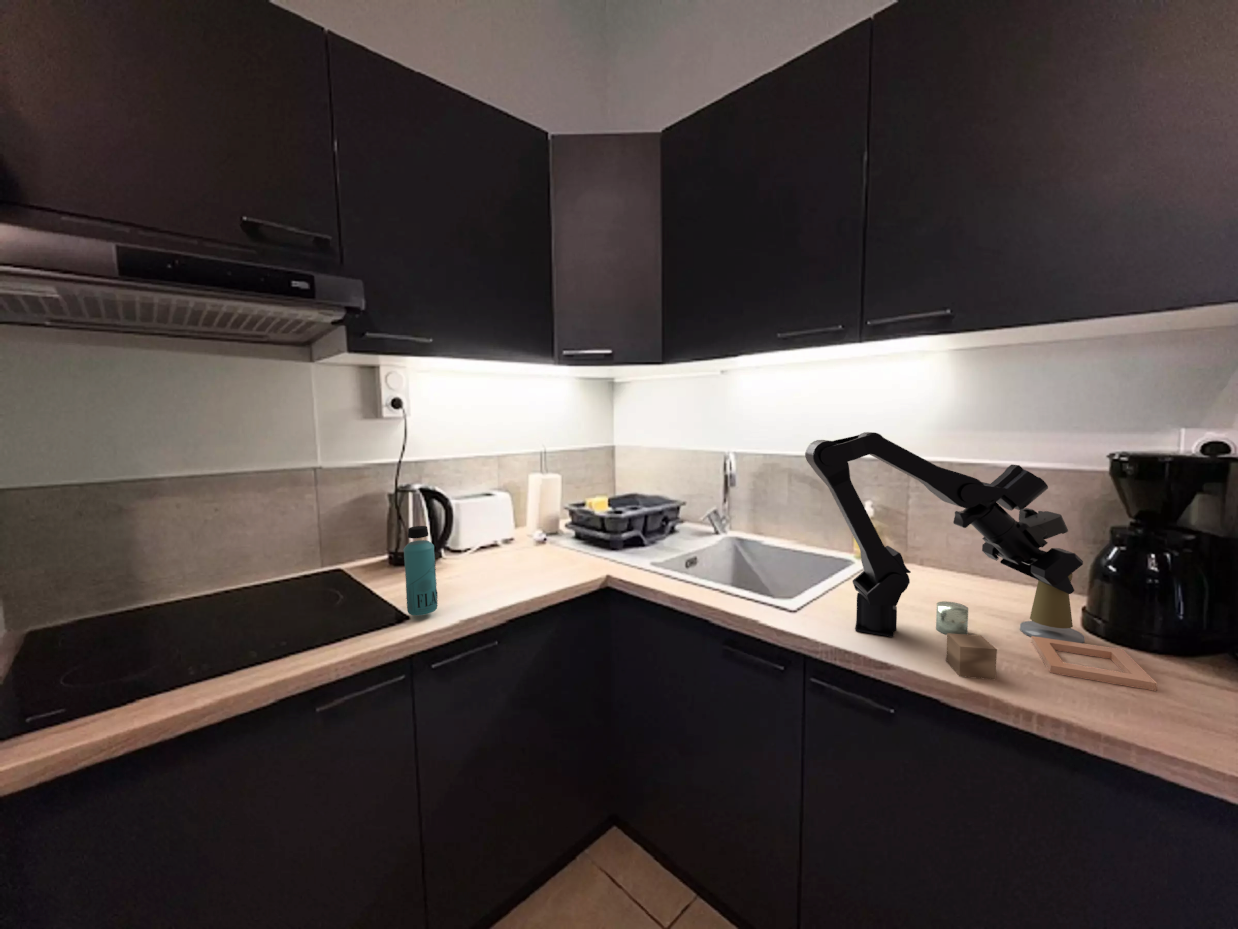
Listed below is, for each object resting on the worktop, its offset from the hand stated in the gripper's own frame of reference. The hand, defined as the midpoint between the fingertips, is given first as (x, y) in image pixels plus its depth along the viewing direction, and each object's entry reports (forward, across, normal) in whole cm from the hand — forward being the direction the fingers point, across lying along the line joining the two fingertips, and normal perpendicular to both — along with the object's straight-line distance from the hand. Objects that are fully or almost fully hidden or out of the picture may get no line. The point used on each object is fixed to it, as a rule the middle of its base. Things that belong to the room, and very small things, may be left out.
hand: (1060, 587), depth 90 cm
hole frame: (+4, -12, +9) cm, 15 cm away
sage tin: (-6, 0, +20) cm, 20 cm away
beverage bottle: (-81, -2, +97) cm, 126 cm away
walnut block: (-10, -15, +23) cm, 29 cm away
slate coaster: (+6, 0, +7) cm, 9 cm away
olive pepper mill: (+4, 0, +6) cm, 7 cm away
